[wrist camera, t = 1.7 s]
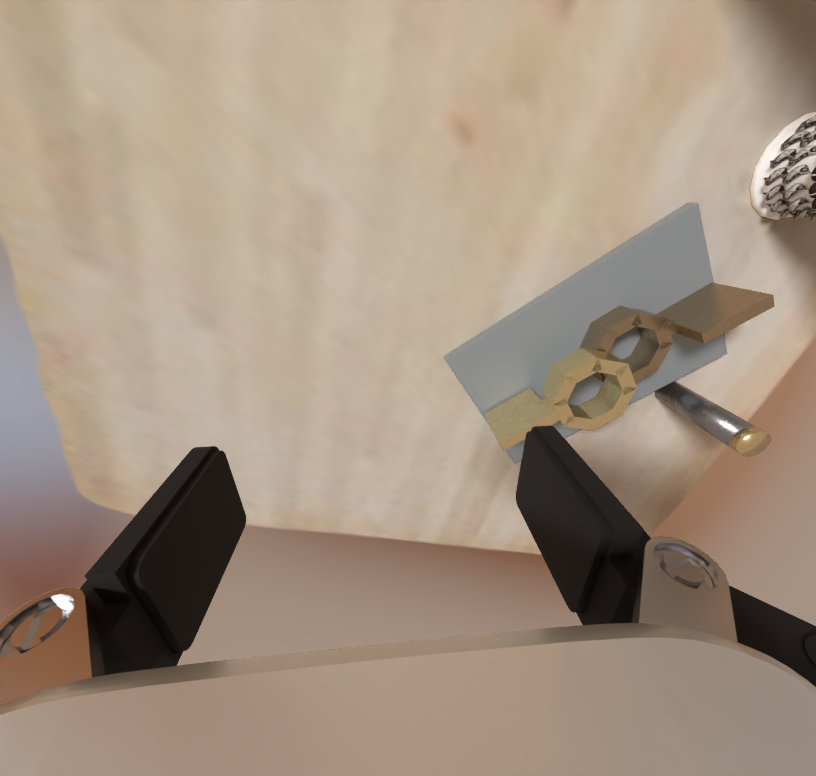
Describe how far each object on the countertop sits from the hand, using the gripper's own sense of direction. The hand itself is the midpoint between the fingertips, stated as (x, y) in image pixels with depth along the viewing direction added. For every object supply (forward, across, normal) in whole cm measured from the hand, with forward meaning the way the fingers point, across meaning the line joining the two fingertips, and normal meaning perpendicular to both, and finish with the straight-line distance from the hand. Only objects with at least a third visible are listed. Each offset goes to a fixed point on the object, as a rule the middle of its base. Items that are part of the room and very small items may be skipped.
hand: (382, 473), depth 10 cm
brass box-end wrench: (+24, -18, +10) cm, 32 cm away
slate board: (+26, -23, +6) cm, 35 cm away
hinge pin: (+26, -35, +12) cm, 45 cm away
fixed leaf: (+24, -28, +3) cm, 37 cm away
